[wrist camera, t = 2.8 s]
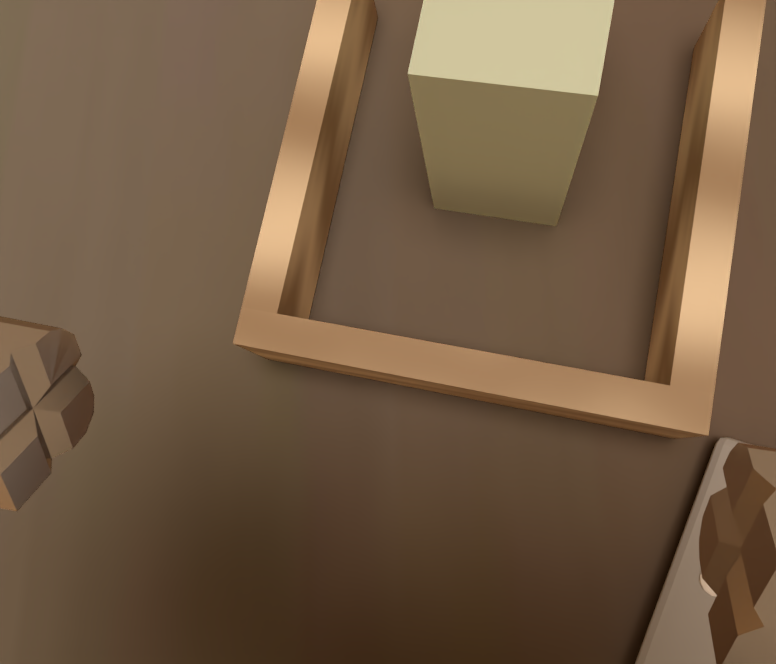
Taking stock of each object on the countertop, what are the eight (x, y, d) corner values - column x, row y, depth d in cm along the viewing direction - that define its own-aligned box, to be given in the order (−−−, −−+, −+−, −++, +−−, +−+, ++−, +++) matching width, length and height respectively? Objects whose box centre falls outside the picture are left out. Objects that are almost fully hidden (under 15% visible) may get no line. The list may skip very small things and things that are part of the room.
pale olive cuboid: (556, 226, 24) (598, 95, 15) (434, 208, 25) (407, 74, 16) (587, 51, 25) (642, -165, 16) (468, 39, 26) (461, -174, 17)
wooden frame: (674, 438, 22) (708, 435, 19) (267, 359, 25) (232, 343, 21) (728, 52, 24) (767, -14, 21) (348, 14, 27) (329, -50, 23)
